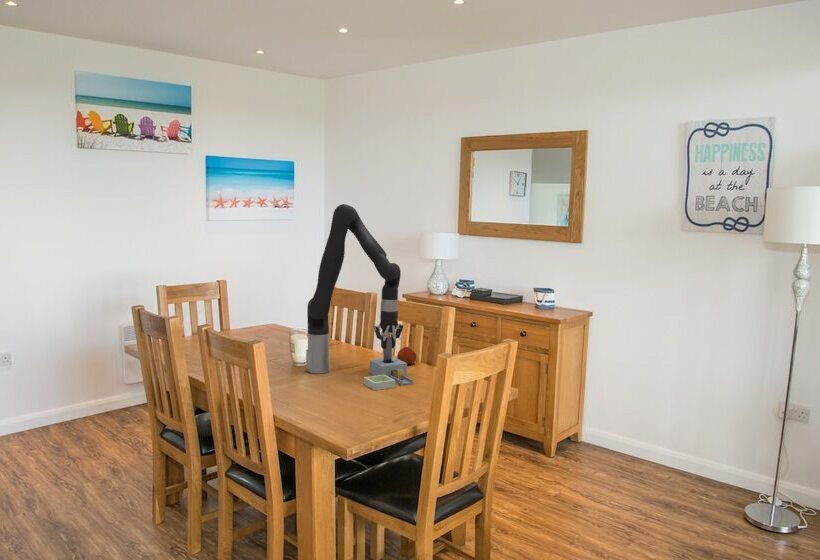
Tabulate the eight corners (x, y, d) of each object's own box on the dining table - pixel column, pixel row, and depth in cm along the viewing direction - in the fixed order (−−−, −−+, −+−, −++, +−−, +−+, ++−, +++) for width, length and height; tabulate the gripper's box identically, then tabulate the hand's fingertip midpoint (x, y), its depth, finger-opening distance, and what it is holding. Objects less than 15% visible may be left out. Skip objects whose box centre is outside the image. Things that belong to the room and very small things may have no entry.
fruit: (405, 367, 297) (405, 350, 296) (393, 363, 304) (393, 346, 303) (420, 364, 302) (420, 347, 301) (408, 360, 309) (408, 344, 308)
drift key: (404, 378, 274) (404, 369, 274) (397, 379, 273) (398, 370, 272) (393, 373, 282) (394, 364, 281) (387, 374, 280) (387, 365, 280)
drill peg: (385, 365, 280) (386, 338, 278) (381, 363, 283) (382, 336, 282) (392, 364, 282) (393, 338, 280) (389, 363, 285) (390, 336, 283)
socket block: (419, 383, 272) (420, 369, 271) (394, 386, 266) (394, 372, 265) (393, 370, 291) (393, 357, 291) (369, 373, 285) (369, 359, 285)
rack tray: (374, 390, 260) (374, 383, 260) (363, 384, 268) (363, 377, 268) (395, 387, 265) (395, 380, 265) (384, 381, 273) (384, 374, 273)
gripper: (399, 307, 286) (398, 345, 288) (370, 308, 279) (369, 347, 281) (407, 310, 280) (406, 348, 282) (378, 311, 273) (377, 351, 275)
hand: (387, 348), depth 281 cm, fingers closed on drill peg, 3 cm apart
